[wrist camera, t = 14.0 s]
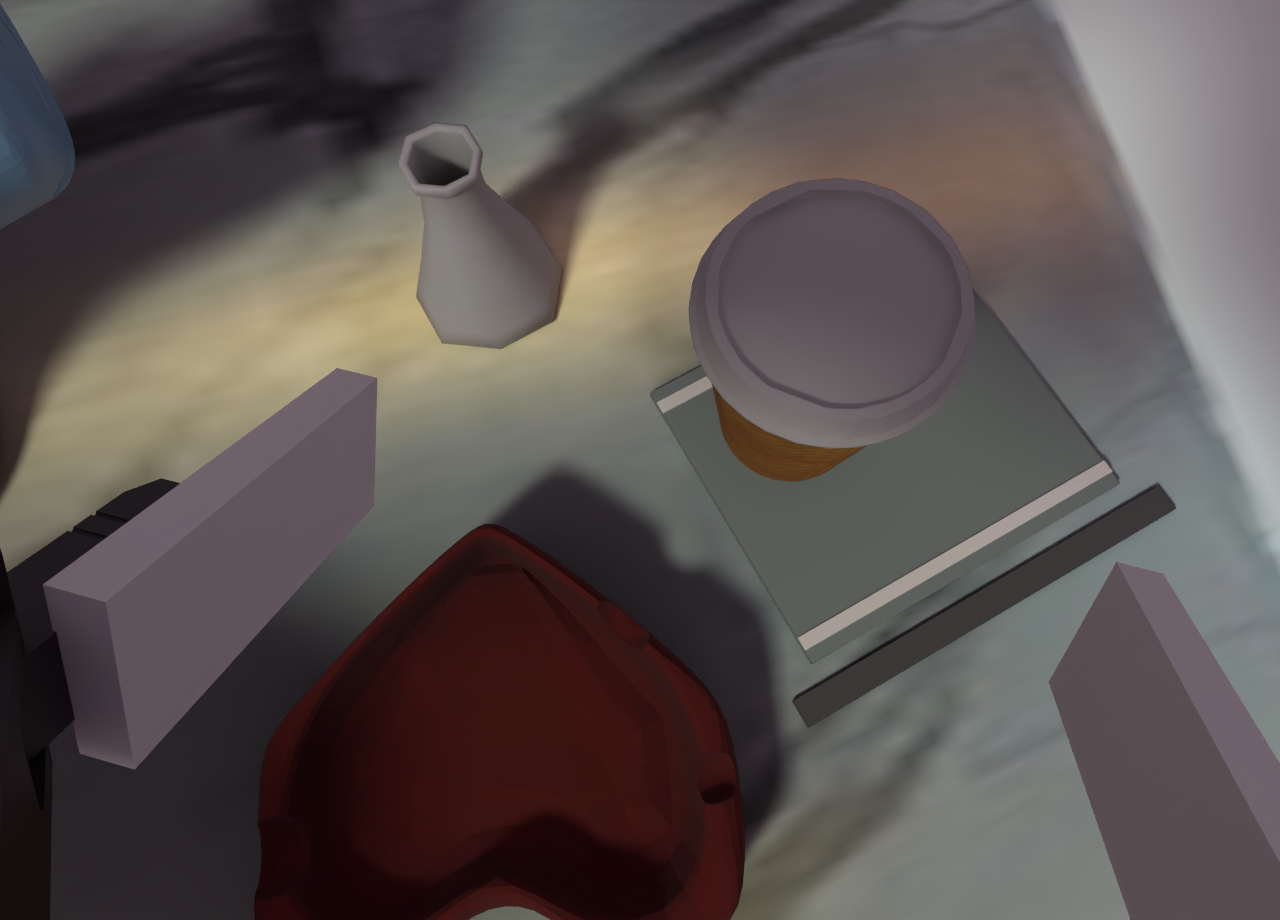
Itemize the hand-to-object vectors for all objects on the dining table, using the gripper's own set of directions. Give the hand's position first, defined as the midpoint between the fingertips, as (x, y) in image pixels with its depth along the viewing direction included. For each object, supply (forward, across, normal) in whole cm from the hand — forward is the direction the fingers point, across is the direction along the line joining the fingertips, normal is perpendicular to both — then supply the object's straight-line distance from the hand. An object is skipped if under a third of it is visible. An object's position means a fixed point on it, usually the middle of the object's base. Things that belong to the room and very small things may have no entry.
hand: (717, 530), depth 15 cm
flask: (+26, -13, -6) cm, 30 cm away
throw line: (+19, +13, -12) cm, 26 cm away
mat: (+23, +7, -8) cm, 26 cm away
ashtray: (+12, -6, -20) cm, 24 cm away
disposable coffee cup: (+23, +3, -8) cm, 25 cm away
